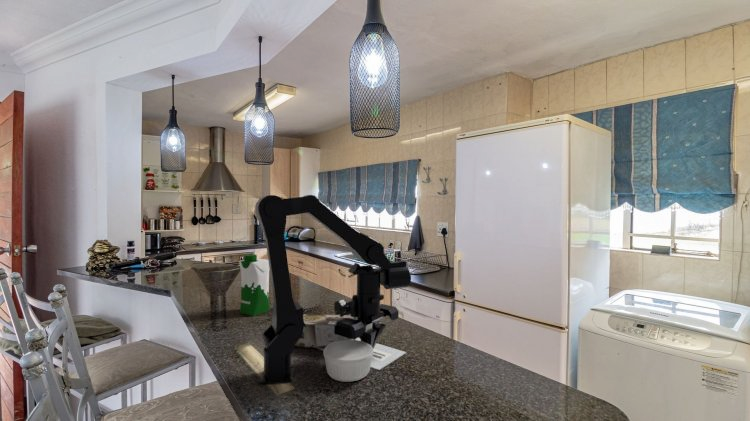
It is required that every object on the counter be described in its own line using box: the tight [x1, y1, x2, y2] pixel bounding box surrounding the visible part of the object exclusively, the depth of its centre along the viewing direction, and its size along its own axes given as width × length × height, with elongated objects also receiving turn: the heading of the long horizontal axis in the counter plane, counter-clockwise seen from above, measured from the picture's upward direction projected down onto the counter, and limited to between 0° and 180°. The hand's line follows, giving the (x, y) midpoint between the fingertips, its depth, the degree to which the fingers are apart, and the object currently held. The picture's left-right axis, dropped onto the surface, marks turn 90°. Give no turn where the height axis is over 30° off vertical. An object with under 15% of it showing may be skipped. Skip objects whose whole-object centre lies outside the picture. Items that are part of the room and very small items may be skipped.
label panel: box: [316, 337, 407, 371], centre depth 92 cm, size 22×12×1 cm, turn 54°
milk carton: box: [238, 253, 271, 317], centre depth 123 cm, size 9×9×20 cm
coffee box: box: [295, 313, 357, 349], centre depth 96 cm, size 9×6×16 cm
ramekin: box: [322, 340, 373, 383], centre depth 79 cm, size 11×11×5 cm
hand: (368, 354), depth 86 cm, fingers closed
